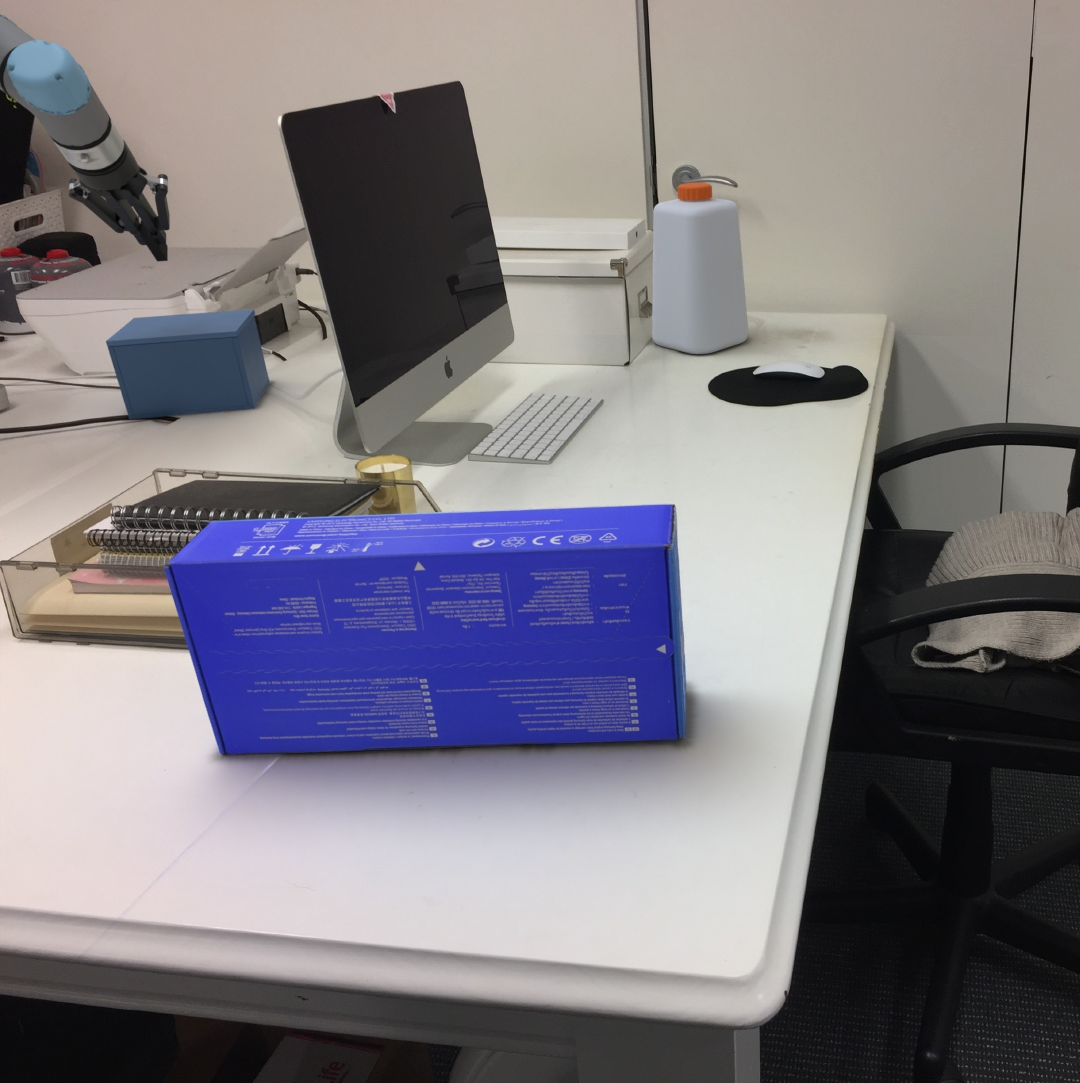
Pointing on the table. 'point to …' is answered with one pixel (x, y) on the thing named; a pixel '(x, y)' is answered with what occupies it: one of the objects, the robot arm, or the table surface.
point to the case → (191, 375)
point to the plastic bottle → (697, 273)
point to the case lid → (182, 327)
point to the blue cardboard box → (436, 628)
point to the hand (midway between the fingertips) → (162, 253)
